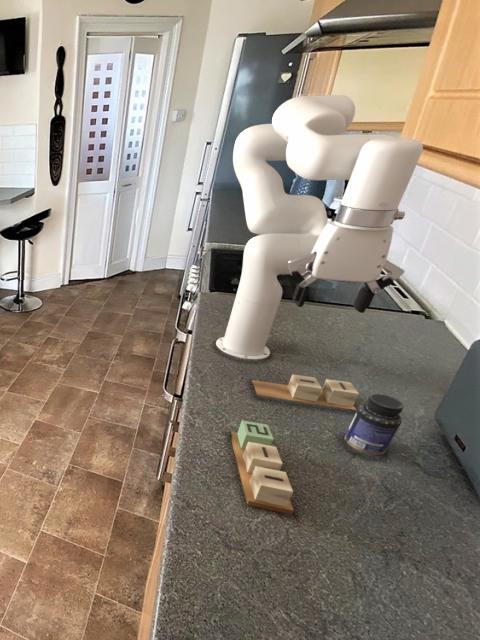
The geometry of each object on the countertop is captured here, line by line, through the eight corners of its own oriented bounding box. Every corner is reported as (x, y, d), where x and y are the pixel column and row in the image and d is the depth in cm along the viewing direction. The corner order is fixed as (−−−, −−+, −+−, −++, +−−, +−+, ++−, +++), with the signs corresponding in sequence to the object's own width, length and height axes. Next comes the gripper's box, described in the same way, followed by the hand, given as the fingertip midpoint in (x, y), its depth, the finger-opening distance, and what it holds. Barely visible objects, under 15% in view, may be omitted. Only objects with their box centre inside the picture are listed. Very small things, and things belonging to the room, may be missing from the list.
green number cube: (241, 448, 82) (246, 434, 81) (236, 433, 86) (241, 419, 84) (268, 454, 81) (274, 439, 79) (262, 438, 85) (268, 424, 83)
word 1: (229, 435, 87) (235, 417, 85) (266, 441, 85) (273, 423, 83) (247, 504, 72) (255, 485, 70) (292, 514, 70) (301, 494, 68)
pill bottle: (391, 460, 80) (418, 413, 75) (353, 456, 81) (377, 409, 76) (371, 438, 85) (395, 392, 80) (335, 435, 86) (357, 389, 81)
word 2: (250, 383, 103) (256, 367, 101) (343, 397, 97) (351, 379, 95) (256, 398, 98) (262, 381, 96) (355, 413, 92) (364, 396, 90)
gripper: (415, 214, 75) (374, 304, 83) (298, 210, 81) (270, 295, 89) (439, 224, 69) (392, 320, 77) (311, 219, 74) (279, 309, 83)
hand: (327, 307), depth 83 cm, fingers open, 9 cm apart
